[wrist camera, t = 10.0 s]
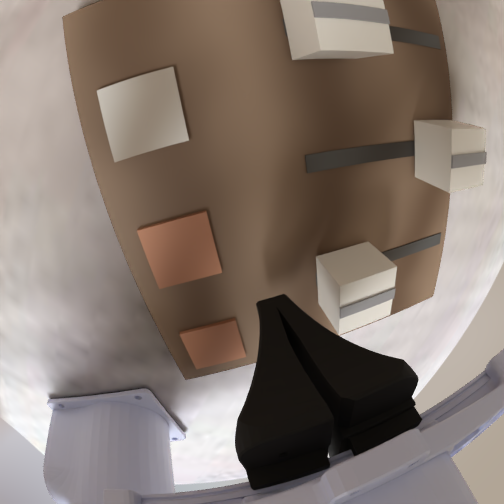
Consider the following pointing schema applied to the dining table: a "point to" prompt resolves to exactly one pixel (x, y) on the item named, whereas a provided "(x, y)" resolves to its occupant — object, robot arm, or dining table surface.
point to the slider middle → (449, 154)
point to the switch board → (254, 160)
